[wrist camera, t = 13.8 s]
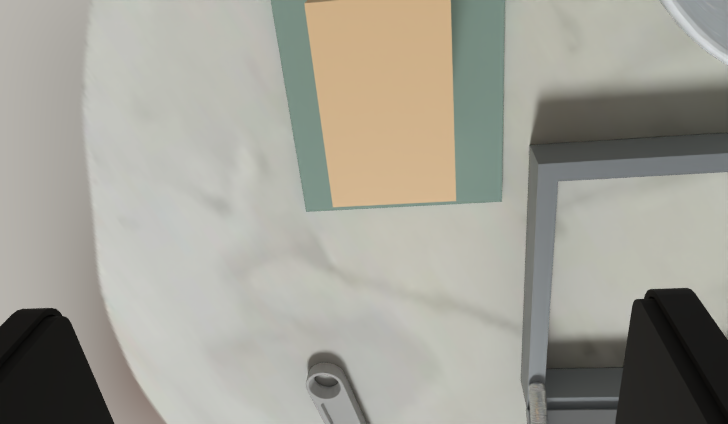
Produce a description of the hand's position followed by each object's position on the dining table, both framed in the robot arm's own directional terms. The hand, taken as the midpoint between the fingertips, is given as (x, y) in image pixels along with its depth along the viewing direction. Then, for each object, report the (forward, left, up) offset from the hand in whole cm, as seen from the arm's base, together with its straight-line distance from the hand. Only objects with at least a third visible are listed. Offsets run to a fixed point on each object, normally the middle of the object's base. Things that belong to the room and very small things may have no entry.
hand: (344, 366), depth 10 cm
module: (0, 0, -22) cm, 22 cm away
